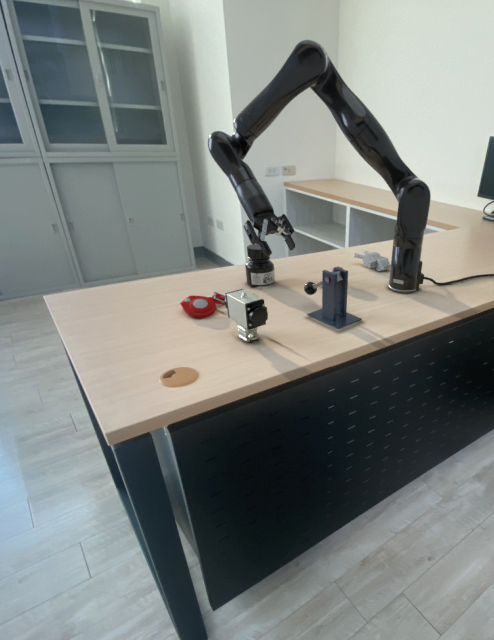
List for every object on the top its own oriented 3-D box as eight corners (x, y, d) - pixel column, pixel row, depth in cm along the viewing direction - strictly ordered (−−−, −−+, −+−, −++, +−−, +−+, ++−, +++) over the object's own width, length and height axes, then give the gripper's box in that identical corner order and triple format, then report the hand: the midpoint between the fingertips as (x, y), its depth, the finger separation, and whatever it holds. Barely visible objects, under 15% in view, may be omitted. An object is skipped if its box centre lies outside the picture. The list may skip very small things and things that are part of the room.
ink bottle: (254, 291, 126) (251, 252, 119) (241, 283, 131) (237, 245, 125) (281, 285, 131) (279, 247, 125) (267, 277, 137) (264, 241, 130)
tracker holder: (205, 317, 105) (171, 303, 106) (206, 329, 108) (174, 315, 109) (231, 292, 113) (199, 279, 114) (231, 304, 116) (201, 291, 117)
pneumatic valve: (254, 350, 94) (249, 301, 88) (227, 333, 101) (221, 286, 94) (273, 343, 97) (270, 295, 91) (246, 327, 104) (242, 282, 98)
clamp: (307, 317, 111) (306, 268, 103) (330, 309, 117) (331, 261, 109) (338, 332, 104) (339, 280, 97) (361, 322, 110) (364, 273, 103)
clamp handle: (304, 297, 113) (299, 285, 112) (313, 294, 115) (309, 282, 114) (336, 284, 102) (331, 270, 101) (345, 281, 104) (341, 267, 104)
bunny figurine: (379, 263, 143) (351, 248, 152) (376, 276, 147) (349, 261, 155) (397, 259, 149) (369, 245, 157) (394, 272, 152) (367, 258, 160)
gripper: (237, 195, 107) (267, 250, 108) (279, 190, 116) (306, 240, 117) (228, 212, 113) (256, 263, 114) (269, 205, 122) (294, 253, 123)
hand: (281, 251), depth 116 cm, fingers open, 8 cm apart
